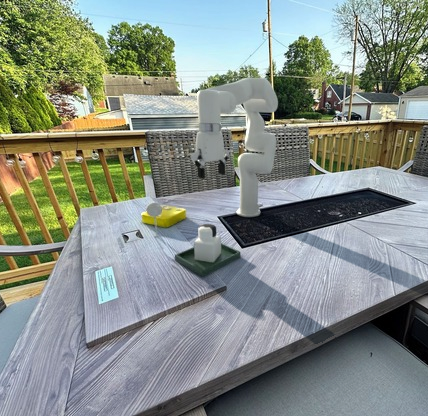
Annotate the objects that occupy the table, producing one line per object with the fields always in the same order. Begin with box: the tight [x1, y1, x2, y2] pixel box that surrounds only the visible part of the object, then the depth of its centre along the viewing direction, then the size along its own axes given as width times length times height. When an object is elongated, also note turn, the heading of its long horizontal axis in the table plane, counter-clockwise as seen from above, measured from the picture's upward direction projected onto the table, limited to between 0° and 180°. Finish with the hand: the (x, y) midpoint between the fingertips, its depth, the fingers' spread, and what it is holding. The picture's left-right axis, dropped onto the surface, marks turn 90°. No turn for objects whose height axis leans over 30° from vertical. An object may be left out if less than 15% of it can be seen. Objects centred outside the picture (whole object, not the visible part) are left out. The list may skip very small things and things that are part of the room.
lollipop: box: [145, 201, 162, 238], centre depth 105 cm, size 6×6×15 cm
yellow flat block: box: [141, 204, 187, 228], centre depth 124 cm, size 15×15×5 cm
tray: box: [174, 242, 242, 278], centre depth 94 cm, size 17×15×2 cm
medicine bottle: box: [193, 223, 222, 263], centre depth 92 cm, size 7×7×12 cm
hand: (211, 175), depth 98 cm, fingers open, 9 cm apart
